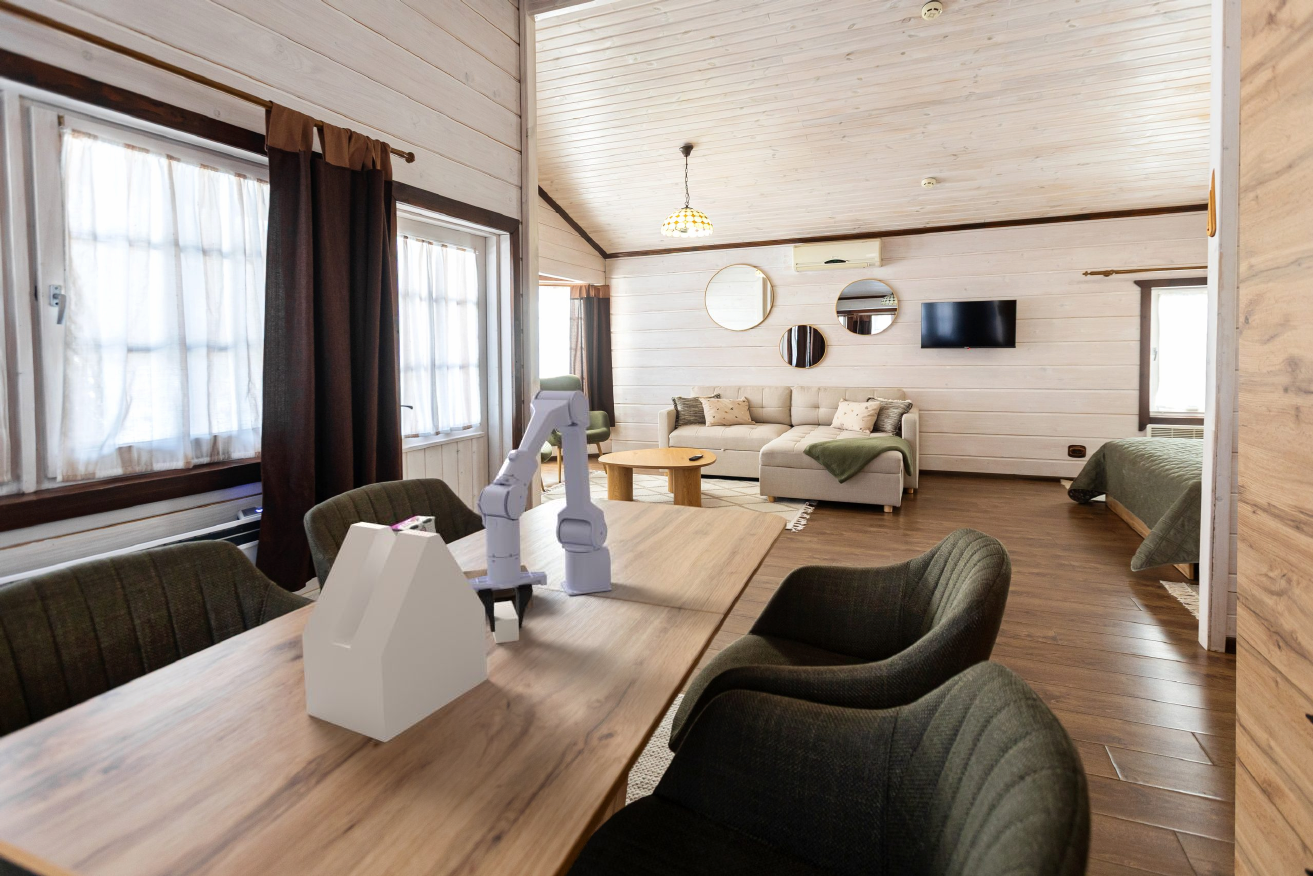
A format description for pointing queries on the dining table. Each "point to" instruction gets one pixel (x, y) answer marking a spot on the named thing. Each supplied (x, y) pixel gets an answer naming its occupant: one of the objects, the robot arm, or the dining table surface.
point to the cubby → (498, 592)
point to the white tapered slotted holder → (392, 633)
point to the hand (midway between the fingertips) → (505, 628)
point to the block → (505, 622)
